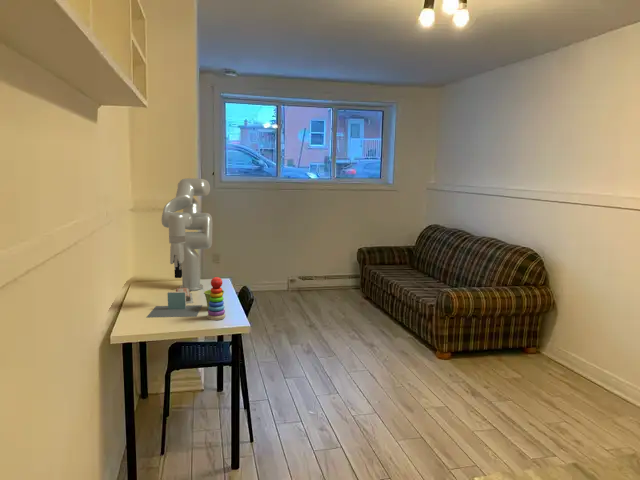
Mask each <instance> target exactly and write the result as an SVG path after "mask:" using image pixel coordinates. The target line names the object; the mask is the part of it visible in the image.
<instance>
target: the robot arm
mask: <svg viewBox="0 0 640 480" xmlns="http://www.w3.org/2000/svg"><path fill="white" fill-rule="evenodd" d="M210 192H211V185H210V182H209V181H208V180H207V179H205V178H190V177H189V178H182V179H180V181H179V182H178V183H177V190H176V193H175V197H174V198H173V199H171V200H169V201H168V202H167V203H166V204H165V205H164V206H163V210H162V214H161V224H162V226H163V227H165V228H166V229H168V243H169V244H170V252H169V253H170V254H169V259H170V260H169V263H170V265H173V264H174V265H173V266H174V271H173V272H174V278H175V279H182V281H181V283H182V285H179V288H188V289H189V292H193V291H199V290H202V289H203V288H204V285H203V284H201V268H200V266H201V265H200V256H199V254H198V252H197V251H196V250H209V249H211V248H212V245H213V225H214V224H213V217H212V215H211V214H210V213H208V212H200V203H199V202H198V201H197V200H196V199H195V197H200V196H201V197H207V196H208V195H210ZM181 210H183V211H182V212H180V211H181ZM186 230H187V231H186Z"/></svg>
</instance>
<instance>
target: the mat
mask: <svg viewBox="0 0 640 480" xmlns="http://www.w3.org/2000/svg"><path fill="white" fill-rule="evenodd" d="M202 307H203V304H197V305H196V304H194V305H193V304H192V305H187V304H186V309H168V305H155V307H154V308H153V309H152V310H151V312H149V314H148V315H147V316H146V318H147V319H148V318H149V319H150V318H190V317H191V318H193V317H194V318H195V317H197V316H198V315H199V313H200V311H201V309H202Z"/></svg>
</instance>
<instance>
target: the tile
mask: <svg viewBox="0 0 640 480" xmlns="http://www.w3.org/2000/svg"><path fill="white" fill-rule="evenodd" d="M167 306H168V309H186V306H187V304H186V292H176V291H168V292H167Z"/></svg>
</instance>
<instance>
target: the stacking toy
mask: <svg viewBox="0 0 640 480" xmlns="http://www.w3.org/2000/svg"><path fill="white" fill-rule="evenodd" d="M210 286H211V288H210V290H211V293H210V296H211V297H210V302H209V307H207V316H206V317H207V319H208V320H211V321H220V320H223V319H225V318H226V311H225V310H226V309H225V305H224V304H225V303H224V293H222V290H223V288H222V286H223V280H222V279H221V277H219V276H216V277H213V278H212V279H211V280H210ZM222 296H223V297H222ZM208 309H209V310H208Z"/></svg>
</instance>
